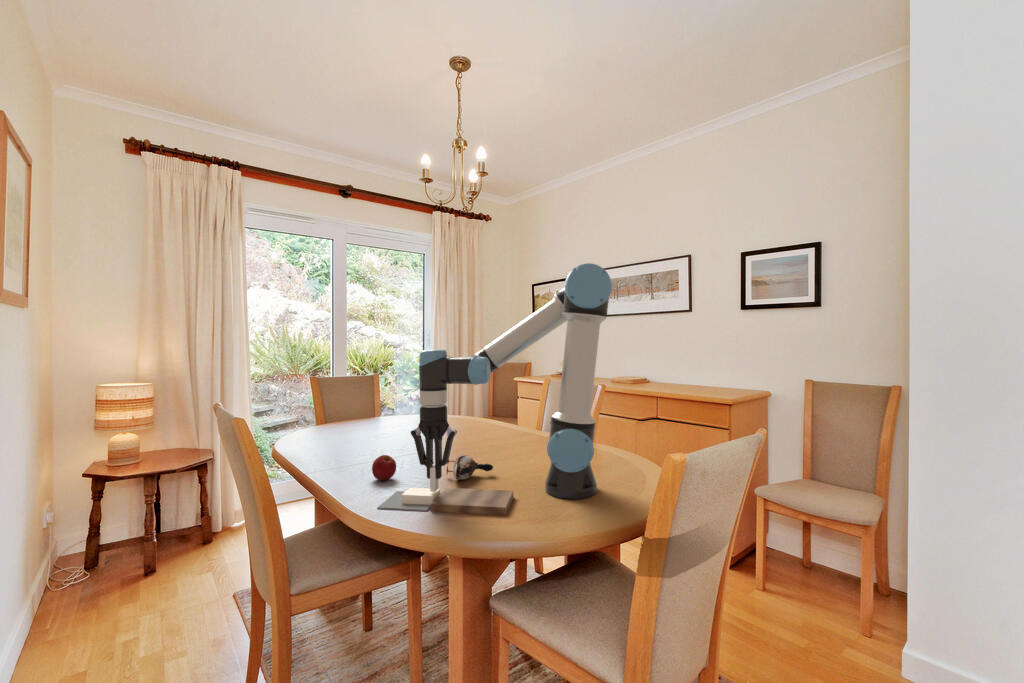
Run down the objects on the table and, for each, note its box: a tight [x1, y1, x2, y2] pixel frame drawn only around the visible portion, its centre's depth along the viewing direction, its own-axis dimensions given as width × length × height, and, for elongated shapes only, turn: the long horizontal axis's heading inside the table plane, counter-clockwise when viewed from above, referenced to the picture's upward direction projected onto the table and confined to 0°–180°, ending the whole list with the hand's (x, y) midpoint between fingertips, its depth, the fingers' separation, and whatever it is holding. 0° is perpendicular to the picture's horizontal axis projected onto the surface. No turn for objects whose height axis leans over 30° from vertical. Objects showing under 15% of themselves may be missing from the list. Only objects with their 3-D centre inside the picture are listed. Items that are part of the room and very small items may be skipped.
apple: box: [371, 454, 397, 482], centre depth 148 cm, size 8×8×8 cm
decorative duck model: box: [446, 454, 494, 481], centre depth 147 cm, size 15×8×15 cm
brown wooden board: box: [430, 487, 514, 516], centre depth 125 cm, size 20×13×2 cm, turn 81°
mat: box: [376, 490, 431, 512], centre depth 128 cm, size 14×13×1 cm
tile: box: [402, 487, 441, 505], centre depth 128 cm, size 9×6×2 cm, turn 81°
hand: (434, 489), depth 127 cm, fingers closed
